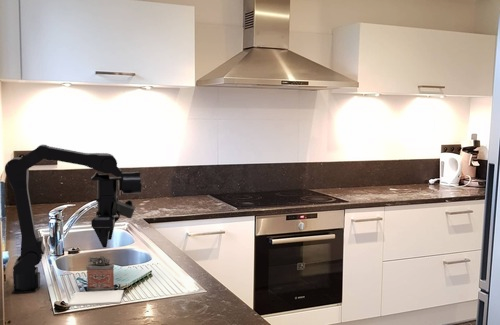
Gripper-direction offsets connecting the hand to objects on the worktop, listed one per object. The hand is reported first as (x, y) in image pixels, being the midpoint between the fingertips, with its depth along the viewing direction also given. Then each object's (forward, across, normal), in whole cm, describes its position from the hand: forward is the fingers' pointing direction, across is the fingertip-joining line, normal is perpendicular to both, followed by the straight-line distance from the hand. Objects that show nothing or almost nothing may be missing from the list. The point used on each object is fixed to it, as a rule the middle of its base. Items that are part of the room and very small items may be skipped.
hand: (107, 243), depth 152 cm
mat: (+12, -15, 0) cm, 19 cm away
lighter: (+12, -7, +1) cm, 14 cm away
